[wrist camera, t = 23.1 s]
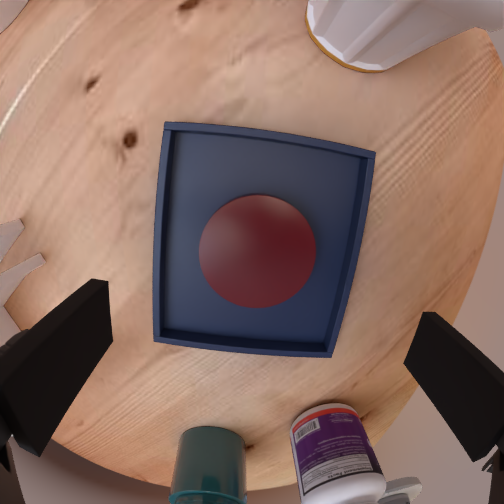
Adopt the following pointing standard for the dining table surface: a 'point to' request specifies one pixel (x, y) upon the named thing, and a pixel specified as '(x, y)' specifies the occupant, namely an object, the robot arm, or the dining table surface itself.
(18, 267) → the storage container
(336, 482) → the pill bottle
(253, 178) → the tray
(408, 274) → the dining table surface
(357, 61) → the cup
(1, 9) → the tall pillar cylinder
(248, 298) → the lid
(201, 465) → the jar
